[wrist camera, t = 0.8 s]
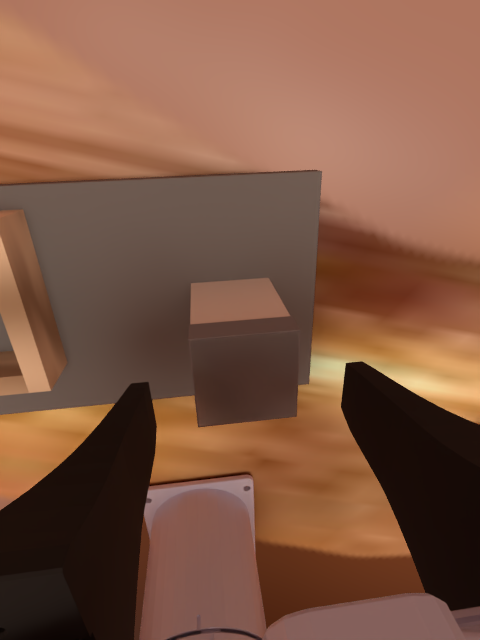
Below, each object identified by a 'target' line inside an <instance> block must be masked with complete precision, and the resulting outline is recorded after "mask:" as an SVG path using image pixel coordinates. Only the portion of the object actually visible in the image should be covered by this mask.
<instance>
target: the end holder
mask: <svg viewBox="0 0 480 640" xmlns="http://www.w3.org/2000/svg"><path fill="white" fill-rule="evenodd" d="M0 314H1V316H2V319H3V322H4V325H5V327H6V330H7V333H8V336H9V338H10V341H11V344H12V347H13V350H14V351H5V352H0V396H3V395H13V394H24V393H34V392H45V391H51V390H52V388H53V387H54V385H55V383H56V382H57V380H58V378H59V376H60V375H61V373H62V371H63V369H64V368H65V366H66V364H67V359H66V356H65V352H64V349H63V346H62V342H61V339H60V335H59V332H58V328H57V325H56V321H55V318H54V314H53V311H52V308H51V304H50V301H49V297H48V294H47V290H46V287H45V283H44V280H43V277H42V273H41V270H40V266H39V263H38V259H37V256H36V252H35V249H34V245H33V242H32V239H31V235H30V232H29V228H28V225H27V221H26V218H25V214H24V211H23V209H21V210H2V211H0Z"/></svg>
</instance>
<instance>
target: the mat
mask: <svg viewBox="0 0 480 640" xmlns="http://www.w3.org/2000/svg"><path fill="white" fill-rule="evenodd" d="M321 178H322V171H318V170H304V171H281V172H259V173H238V174H216V175H194V176H172V177H150V178H128V179H106V180H84V181H62V182H41V183H19V184H0V211H2V210H21V209H23V211H24V214H25V218H26V221H27V225H28V228H29V232H30V235H31V239H32V242H33V245H34V249H35V252H36V256H37V259H38V263H39V266H40V270H41V273H42V277H43V280H44V283H45V287H46V290H47V294H48V297H49V301H50V304H51V308H52V311H53V314H54V318H55V321H56V325H57V328H58V332H59V335H60V339H61V342H62V346H63V349H64V352H65V356H66V359H67V364H66V366H65V368H64V369H63V371H62V373H61V375H60V376H59V378H58V380H57V382H56V383H55V385H54V387H53V388H52V390H51V391H45V392H34V393H24V394H13V395H3V396H0V415H2V414H12V413H22V412H32V411H42V410H52V409H62V408H72V407H82V406H92V405H102V404H112V403H116V402H117V401H118V400H119V398H120V397H121V396H122V394H123V393H124V392H125V390H126V389H127V388H128V386H129V385H130V384H131V383H141V382H149V387H150V392H151V398H152V399H162V398H172V397H182V396H192V395H195V394H194V385H193V376H192V367H191V358H190V349H189V340H188V335H189V324H190V308H191V283H202V282H216V281H230V280H244V279H257V278H269V279H270V281H271V283H272V285H273V286H274V288H275V290H276V292H277V293H278V295H279V297H280V299H281V300H282V302H283V304H284V306H285V307H286V309H287V311H288V313H289V314H290V316H293V318H294V320H295V321H296V323H297V325H298V327H299V328H300V350H299V372H298V385H303V384H309V375H310V359H311V343H312V326H313V310H314V293H315V277H316V260H317V244H318V227H319V211H320V195H321ZM5 351H14V350H13V347H12V344H11V341H10V338H9V336H8V333H7V330H6V327H5V325H4V322H3V319H2V316H1V314H0V352H5Z"/></svg>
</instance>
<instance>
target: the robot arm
mask: <svg viewBox="0 0 480 640" xmlns="http://www.w3.org/2000/svg"><path fill="white" fill-rule="evenodd" d="M341 408H342V411H343V414H344V416H345V419H346V421H347V424H348V426H349V429H350V431H351V433H352V435H353V437H354V438H355V440H356V442H357V444H358V446H359V447H360V449H361V451H362V453H363V454H364V456H365V458H366V460H367V461H368V463H369V465H370V467H371V469H372V470H373V472H374V474H375V476H376V477H377V479H378V481H379V483H380V485H381V486H382V488H383V490H384V492H385V494H386V496H387V499H388V501H389V503H390V505H391V508H392V510H393V512H394V515H395V517H396V519H397V521H398V524H399V526H400V529H401V531H402V533H403V536H404V538H405V541H406V543H407V546H408V548H409V550H410V553H411V556H412V558H413V561H414V563H415V566H416V569H417V571H418V574H419V576H420V579H421V582H422V584H423V587H424V590H425V593H406V594H399V595H393V596H387V597H380V598H374V599H367V600H362V601H355V602H348V603H342V604H335V605H330V606H323V607H316V608H310V609H305V610H302V611H298V612H295V613H292V614H288V615H285V616H283V617H282V618H281V619H279V620H278V621H276V622H275V623H273V624H272V625H270V626H269V628H268V629H267V630H266V623H265V617H264V610H263V604H262V597H261V590H260V584H259V577H258V570H257V564H256V557H255V520H254V482H253V478H252V476H251V475H239V476H231V477H222V478H214V479H206V480H198V481H189V482H181V483H173V484H164V485H156V486H149V483H150V478H151V472H152V467H153V461H154V456H155V446H156V428H157V426H156V420H155V415H154V409H153V403H152V398H151V392H150V387H149V382H141V383H131V384H130V385H129V386H128V388H127V389H126V390H125V392H124V393H123V394H122V396H121V397H120V398H119V400H118V401H117V402H116V404H115V405H114V406H113V408H112V409H111V410H110V411H109V413H108V414H107V415H106V416H105V418H104V419H103V420H102V421H101V423H100V424H99V425H98V426H97V427H96V428H95V429H94V431H93V432H92V433H91V434H90V435H89V436H88V437H87V438H86V439H85V441H84V442H83V443H82V444H81V445H80V446H79V447H78V448H77V449H76V450H75V451H74V452H73V453H72V454H71V455H70V456H69V457H68V458H67V459H66V460H64V461H63V462H62V463H61V464H60V465H59V466H58V467H57V468H55V469H54V470H53V471H52V472H51V473H49V474H48V475H47V476H46V477H44V478H43V479H42V480H41V481H40V482H38V483H37V484H36V485H35V486H33V487H32V488H31V489H30V490H28V491H27V492H25V493H24V494H23V495H21V496H20V497H19V498H17V499H16V500H15V501H13V502H12V503H10V504H9V505H7V506H6V507H4V508H3V509H2V510H0V640H134V626H135V610H136V594H137V580H138V565H139V554H140V543H141V530H142V523H143V516H144V517H145V521H146V526H147V530H148V534H149V539H150V547H149V556H148V566H147V576H146V584H145V593H144V602H143V611H142V621H141V630H140V639H139V640H480V425H478V424H476V423H473V422H471V421H468V420H466V419H464V418H462V417H460V416H457V415H455V414H453V413H451V412H449V411H447V410H445V409H443V408H441V407H439V406H437V405H435V404H433V403H431V402H429V401H427V400H426V399H424V398H422V397H420V396H418V395H417V394H415V393H413V392H411V391H410V390H408V389H406V388H405V387H403V386H401V385H400V384H398V383H396V382H395V381H393V380H392V379H390V378H388V377H387V376H385V375H384V374H382V373H380V372H379V371H377V370H376V369H374V368H372V367H371V366H369V365H367V364H366V363H364V362H352V363H346V367H345V376H344V385H343V394H342V402H341Z"/></svg>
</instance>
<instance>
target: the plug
mask: <svg viewBox="0 0 480 640" xmlns="http://www.w3.org/2000/svg"><path fill="white" fill-rule="evenodd" d="M188 340H189V349H190V358H191V367H192V376H193V385H194V394H195V403H196V412H197V421H198V427H205V426H214V425H224V424H233V423H242V422H252V421H261V420H270V419H279V418H289V417H297V395H298V372H299V350H300V328H299V327H298V325H297V323H296V321H295V320H294V318H293V316H290V314H289V313H288V311H287V309H286V307H285V306H284V304H283V302H282V300H281V299H280V297H279V295H278V293H277V292H276V290H275V288H274V286H273V285H272V283H271V281H270V279H269V278H257V279H244V280H230V281H216V282H202V283H191V308H190V324H189V335H188Z"/></svg>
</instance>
